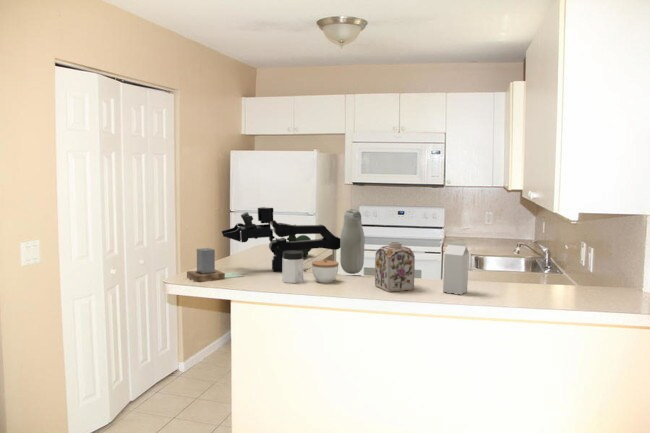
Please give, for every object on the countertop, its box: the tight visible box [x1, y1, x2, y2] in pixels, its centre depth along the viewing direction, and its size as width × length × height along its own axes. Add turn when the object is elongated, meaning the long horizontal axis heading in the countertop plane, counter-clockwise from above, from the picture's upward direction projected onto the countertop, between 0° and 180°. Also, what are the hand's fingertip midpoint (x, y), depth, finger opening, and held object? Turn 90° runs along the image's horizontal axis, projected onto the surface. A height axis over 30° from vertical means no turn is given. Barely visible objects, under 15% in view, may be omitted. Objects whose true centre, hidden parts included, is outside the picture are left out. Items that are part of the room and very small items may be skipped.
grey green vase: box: [339, 208, 366, 275], centre depth 253 cm, size 10×10×28 cm
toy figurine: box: [286, 234, 312, 259], centre depth 290 cm, size 9×19×25 cm
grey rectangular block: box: [196, 247, 216, 275], centre depth 238 cm, size 6×6×12 cm
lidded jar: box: [311, 258, 339, 284], centre depth 236 cm, size 11×11×9 cm
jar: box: [281, 250, 304, 284], centre depth 235 cm, size 9×8×12 cm
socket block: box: [186, 269, 226, 283], centre depth 239 cm, size 12×11×2 cm
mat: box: [224, 272, 244, 279], centre depth 245 cm, size 8×8×1 cm
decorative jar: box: [374, 241, 416, 293], centre depth 225 cm, size 12×12×18 cm
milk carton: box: [442, 241, 470, 296], centre depth 220 cm, size 7×7×19 cm
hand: (222, 233), depth 251 cm, fingers open, 9 cm apart
